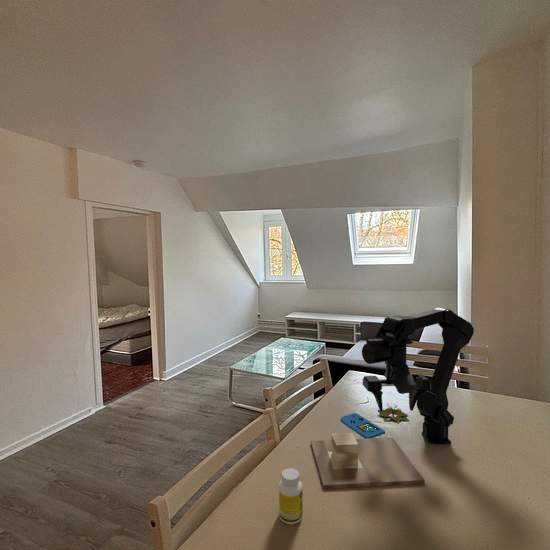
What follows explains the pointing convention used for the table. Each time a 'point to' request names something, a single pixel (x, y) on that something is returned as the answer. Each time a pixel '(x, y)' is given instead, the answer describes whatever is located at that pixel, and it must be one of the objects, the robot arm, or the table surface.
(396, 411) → the lily flower
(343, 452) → the beech block
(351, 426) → the handheld gaming device
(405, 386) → the robot arm
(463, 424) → the table surface
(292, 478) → the supplement bottle
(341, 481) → the walnut board
